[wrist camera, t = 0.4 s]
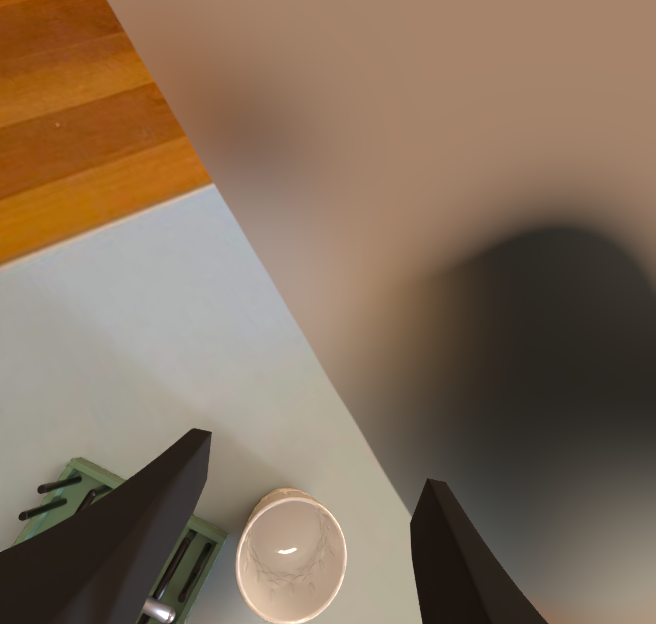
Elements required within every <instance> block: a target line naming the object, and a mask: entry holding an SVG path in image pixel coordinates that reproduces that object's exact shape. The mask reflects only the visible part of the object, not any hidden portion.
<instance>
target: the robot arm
mask: <svg viewBox="0 0 656 624" xmlns="http://www.w3.org/2000/svg"><path fill="white" fill-rule="evenodd" d="M211 434H212V432H209V431H205V430H200V429H195V428H193V429H191V430H190V431H189V432H187V433H186V434H185V435H184V436H183V437H182V438H180V439H179V440H178V441H177V442H176V443H174V444H173V445H172V446H171V447H170V448H168V449H167V450H166V451H165V452H164V453H162V454H161V455H160V456H159V457H157V458H156V459H155V460H153V461H152V462H151V463H150V464H148V465H147V466H146V467H144V468H143V469H142V470H141V471H139V472H138V473H136V474H135V475H134V476H132V477H131V478H129V479H128V480H127V481H125V482H124V483H122V484H121V485H119V486H118V487H117V488H115V489H114V490H112V491H111V492H109V493H108V494H106V495H105V496H103V497H102V498H100V499H99V500H97V501H95V502H94V503H92V504H91V505H89V506H87V507H86V508H84V509H82V510H81V511H79V512H77V513H76V514H74V515H72V516H70V517H69V518H67V519H65V520H63V521H61V522H60V523H58V524H56V525H54V526H52V527H51V528H49V529H47V530H45V531H43V532H41V533H39V534H37V535H35V536H33V537H31V538H29V539H27V540H25V541H23V542H21V543H19V544H17V545H15V546H13V547H11V548H8V549H6V550H4V551H2V552H0V624H136V622H137V620H138V618H139V615H140V613H141V611H142V609H143V606H144V604H145V602H146V600H147V597H148V595H149V593H150V591H151V589H152V587H153V585H154V583H155V581H156V580H157V578H158V576H159V574H160V572H161V570H162V569H163V567H164V565H165V563H166V561H167V559H168V558H169V556H170V554H171V552H172V550H173V548H174V547H175V545H176V543H177V541H178V539H179V537H180V536H181V534H182V532H183V530H184V528H185V526H186V524H187V523H188V521H189V519H190V517H191V515H192V513H193V511H194V509H195V507H196V505H197V502H198V500H199V497H200V495H201V493H202V490H203V488H204V485H205V483H206V480H207V472H208V463H209V453H210V444H211ZM410 532H411V552H412V562H413V568H414V575H415V581H416V587H417V593H418V599H419V605H420V611H421V617H422V623H423V624H548V623H547V622H546V621H545V619H544V618H543V617H542V616H541V615H540V614H539V613H538V611H537V610H536V609H535V608H534V607H533V605H532V604H531V603H530V602H529V601H528V599H527V598H526V597H525V596H524V595H523V593H522V592H521V591H520V590H519V588H518V587H517V586H516V585H515V583H514V582H513V581H512V579H511V578H510V577H509V575H508V574H507V573H506V571H505V570H504V569H503V567H502V566H501V565H500V563H499V562H498V561H497V559H496V558H495V556H494V555H493V554H492V552H491V551H490V550H489V548H488V547H487V545H486V544H485V542H484V541H483V539H482V538H481V536H480V535H479V533H478V532H477V530H476V529H475V527H474V526H473V524H472V523H471V521H470V520H469V518H468V517H467V515H466V513H465V512H464V510H463V509H462V507H461V506H460V504H459V502H458V501H457V499H456V498H455V496H454V495H453V493H452V491H451V490H450V488H449V487H448V485H447V484H446V482H442V481H437V480H433V479H428V478H427V481H426V483H425V486H424V488H423V491H422V494H421V496H420V499H419V501H418V504H417V507H416V509H415V512H414V514H413V517H412V520H411V522H410Z"/></svg>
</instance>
